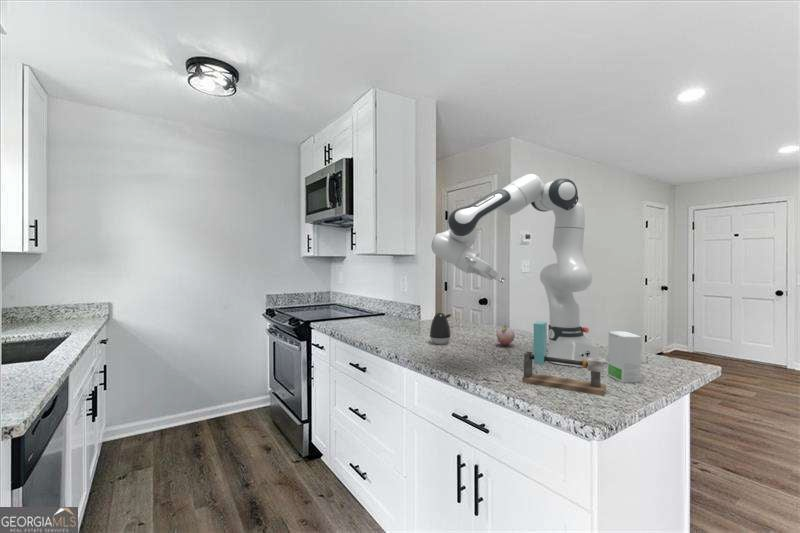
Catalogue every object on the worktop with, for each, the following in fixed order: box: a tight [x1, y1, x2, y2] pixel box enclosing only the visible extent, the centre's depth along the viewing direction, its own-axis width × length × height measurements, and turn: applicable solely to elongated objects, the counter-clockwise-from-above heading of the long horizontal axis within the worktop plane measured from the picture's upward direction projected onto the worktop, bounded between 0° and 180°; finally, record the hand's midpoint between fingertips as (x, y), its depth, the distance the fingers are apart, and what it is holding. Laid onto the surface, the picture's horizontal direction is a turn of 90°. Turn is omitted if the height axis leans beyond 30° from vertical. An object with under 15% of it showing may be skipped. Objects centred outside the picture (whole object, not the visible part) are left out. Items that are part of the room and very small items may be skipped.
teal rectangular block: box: [533, 320, 548, 366], centre depth 127 cm, size 3×5×14 cm, turn 147°
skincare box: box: [607, 330, 642, 384], centre depth 129 cm, size 8×7×16 cm
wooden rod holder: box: [521, 351, 607, 396], centre depth 123 cm, size 24×7×10 cm, turn 57°
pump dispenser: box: [429, 312, 452, 345], centre depth 187 cm, size 10×10×15 cm
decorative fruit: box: [496, 325, 516, 347], centre depth 180 cm, size 9×8×10 cm
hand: (502, 279), depth 136 cm, fingers open, 8 cm apart
